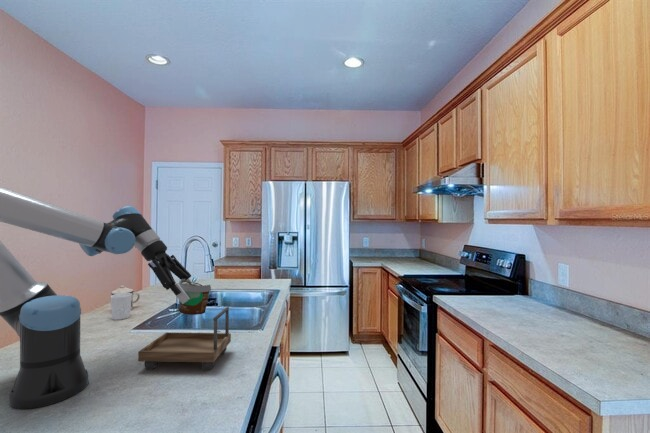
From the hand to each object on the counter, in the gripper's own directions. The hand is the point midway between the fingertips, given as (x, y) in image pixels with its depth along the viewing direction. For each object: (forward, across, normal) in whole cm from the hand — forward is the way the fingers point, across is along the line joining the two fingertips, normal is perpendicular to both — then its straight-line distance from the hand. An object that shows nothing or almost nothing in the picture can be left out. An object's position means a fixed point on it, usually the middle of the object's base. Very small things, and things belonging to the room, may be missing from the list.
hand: (192, 297), depth 107 cm
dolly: (+15, +9, -9) cm, 20 cm away
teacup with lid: (-18, -45, -50) cm, 70 cm away
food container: (+3, +1, -4) cm, 5 cm away
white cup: (-15, -33, -46) cm, 58 cm away
